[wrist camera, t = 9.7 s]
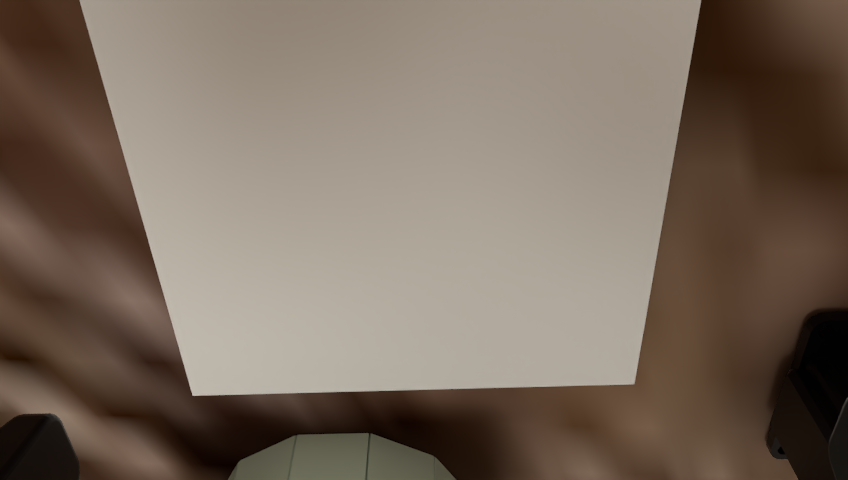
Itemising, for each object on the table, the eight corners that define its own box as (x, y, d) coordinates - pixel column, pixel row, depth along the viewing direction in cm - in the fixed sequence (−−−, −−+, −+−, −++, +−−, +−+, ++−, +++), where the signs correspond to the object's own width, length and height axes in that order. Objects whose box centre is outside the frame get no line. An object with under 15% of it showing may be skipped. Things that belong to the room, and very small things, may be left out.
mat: (712, -102, 17) (718, -100, 17) (631, 375, 25) (634, 384, 25) (64, -80, 17) (58, -76, 17) (195, 387, 25) (192, 395, 25)
